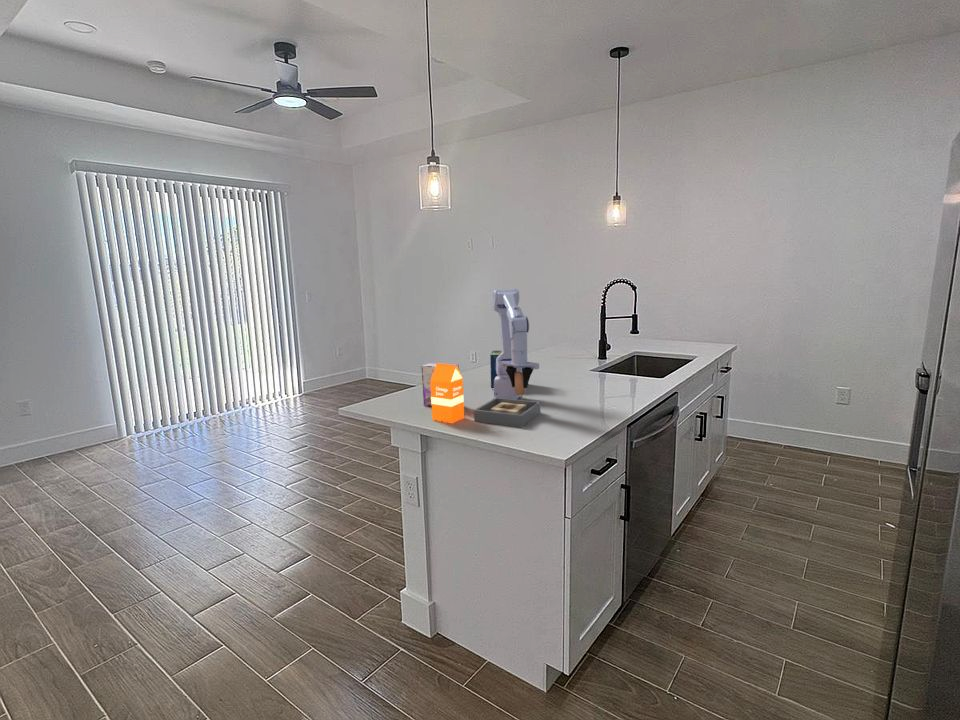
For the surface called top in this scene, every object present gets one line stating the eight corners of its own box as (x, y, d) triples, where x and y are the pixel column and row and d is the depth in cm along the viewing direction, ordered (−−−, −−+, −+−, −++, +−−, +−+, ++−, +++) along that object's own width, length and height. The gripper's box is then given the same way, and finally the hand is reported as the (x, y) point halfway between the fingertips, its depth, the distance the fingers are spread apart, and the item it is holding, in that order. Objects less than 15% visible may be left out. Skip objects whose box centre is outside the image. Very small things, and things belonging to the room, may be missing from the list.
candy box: (461, 405, 201) (459, 364, 198) (454, 409, 196) (452, 367, 193) (430, 402, 207) (428, 362, 204) (423, 406, 201) (420, 364, 198)
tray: (474, 421, 180) (473, 410, 180) (495, 407, 196) (495, 397, 195) (521, 427, 172) (521, 415, 172) (540, 412, 188) (540, 402, 187)
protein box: (493, 383, 235) (492, 350, 232) (526, 383, 233) (526, 350, 230) (490, 389, 225) (489, 354, 222) (525, 389, 223) (525, 354, 220)
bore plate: (490, 414, 185) (490, 409, 185) (502, 407, 194) (501, 402, 193) (516, 417, 181) (516, 411, 180) (526, 409, 189) (526, 404, 189)
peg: (512, 394, 188) (512, 372, 186) (517, 391, 191) (517, 370, 190) (522, 395, 186) (522, 373, 184) (527, 393, 189) (527, 371, 188)
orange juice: (452, 423, 178) (449, 367, 175) (431, 420, 183) (429, 365, 179) (464, 417, 185) (462, 363, 181) (444, 414, 190) (442, 361, 186)
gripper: (496, 351, 185) (497, 387, 188) (534, 353, 179) (534, 391, 181) (504, 348, 191) (504, 383, 194) (541, 350, 185) (541, 386, 187)
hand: (519, 387), depth 188 cm, fingers closed on peg, 4 cm apart
